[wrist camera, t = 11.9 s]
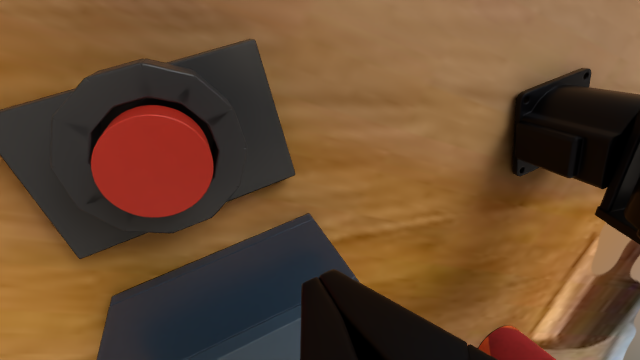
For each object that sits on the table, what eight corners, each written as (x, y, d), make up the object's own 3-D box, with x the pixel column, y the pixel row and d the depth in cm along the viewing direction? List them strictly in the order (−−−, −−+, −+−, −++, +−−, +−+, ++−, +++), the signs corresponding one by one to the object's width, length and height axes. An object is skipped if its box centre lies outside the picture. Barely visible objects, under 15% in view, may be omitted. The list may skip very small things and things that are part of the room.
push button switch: (247, 28, 16) (261, 27, 13) (290, 168, 19) (308, 190, 17) (-24, 102, 13) (-71, 120, 11) (83, 248, 17) (67, 288, 14)
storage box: (197, 410, 24) (203, 522, 18) (111, 295, 18) (84, 408, 13) (345, 333, 26) (388, 411, 21) (309, 212, 21) (355, 276, 15)
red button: (186, 91, 13) (188, 99, 12) (223, 178, 15) (228, 194, 14) (78, 124, 12) (64, 137, 11) (131, 212, 14) (126, 234, 13)
